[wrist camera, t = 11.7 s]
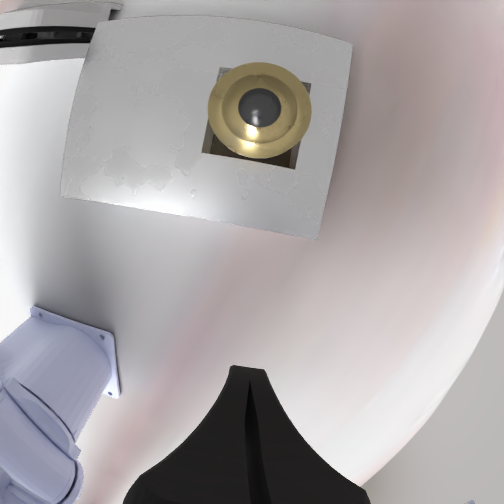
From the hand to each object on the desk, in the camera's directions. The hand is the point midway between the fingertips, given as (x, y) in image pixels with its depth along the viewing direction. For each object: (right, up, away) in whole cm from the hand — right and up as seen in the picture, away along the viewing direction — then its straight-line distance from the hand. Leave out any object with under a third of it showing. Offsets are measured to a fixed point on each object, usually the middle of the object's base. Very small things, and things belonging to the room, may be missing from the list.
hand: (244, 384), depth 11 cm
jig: (-3, +14, +6) cm, 15 cm away
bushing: (+1, +13, +6) cm, 14 cm away
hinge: (-18, +24, +3) cm, 30 cm away
